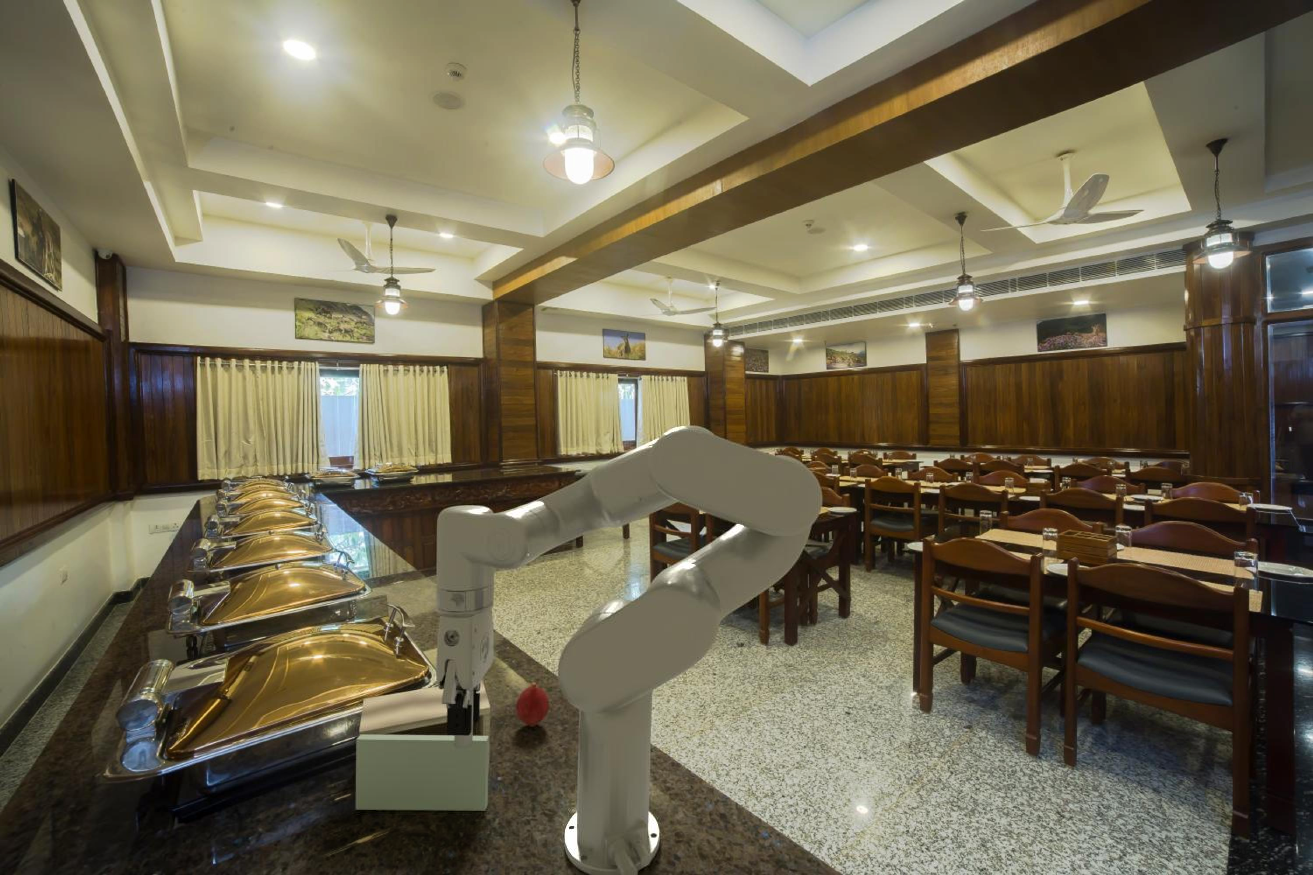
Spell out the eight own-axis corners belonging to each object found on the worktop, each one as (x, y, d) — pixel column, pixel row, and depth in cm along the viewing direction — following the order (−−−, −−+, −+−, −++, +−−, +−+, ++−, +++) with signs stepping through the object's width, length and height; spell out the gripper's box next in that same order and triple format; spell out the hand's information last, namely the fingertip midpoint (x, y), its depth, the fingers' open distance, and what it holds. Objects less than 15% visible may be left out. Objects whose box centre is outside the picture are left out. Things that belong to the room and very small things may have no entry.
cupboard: (489, 773, 86) (490, 707, 85) (358, 804, 78) (359, 731, 78) (480, 738, 95) (482, 679, 94) (363, 763, 87) (363, 698, 87)
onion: (508, 729, 98) (509, 685, 98) (530, 714, 103) (531, 672, 103) (534, 738, 95) (535, 693, 95) (555, 722, 100) (556, 679, 100)
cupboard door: (481, 819, 75) (483, 690, 75) (348, 818, 75) (350, 689, 74) (487, 804, 78) (489, 680, 78) (360, 803, 78) (361, 678, 77)
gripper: (472, 618, 67) (470, 764, 68) (509, 580, 83) (506, 698, 84) (411, 616, 67) (409, 762, 68) (459, 578, 84) (458, 697, 84)
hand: (463, 726), depth 76 cm, fingers closed on cupboard door, 2 cm apart
